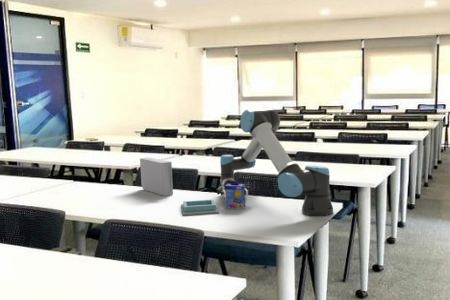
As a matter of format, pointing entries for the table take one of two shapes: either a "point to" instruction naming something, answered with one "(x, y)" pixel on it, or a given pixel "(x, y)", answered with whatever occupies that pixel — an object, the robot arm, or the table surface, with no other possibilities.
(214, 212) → the cradle
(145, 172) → the game console
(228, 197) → the ink cartridge box
